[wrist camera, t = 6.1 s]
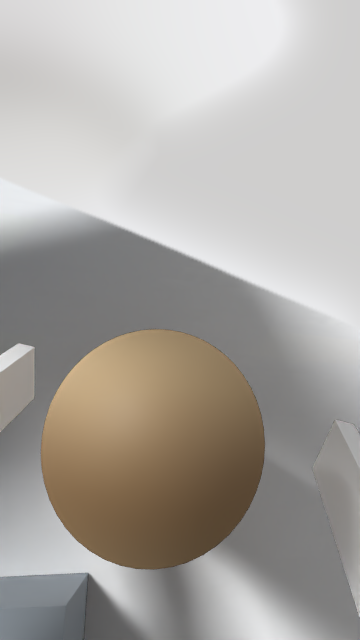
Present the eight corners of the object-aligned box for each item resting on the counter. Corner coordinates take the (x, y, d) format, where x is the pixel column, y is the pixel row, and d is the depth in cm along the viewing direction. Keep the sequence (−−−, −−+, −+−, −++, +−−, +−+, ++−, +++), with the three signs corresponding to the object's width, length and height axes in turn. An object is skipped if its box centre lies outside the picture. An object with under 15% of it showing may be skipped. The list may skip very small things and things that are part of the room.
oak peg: (124, 400, 19) (56, 331, 8) (205, 398, 19) (250, 326, 8) (121, 492, 17) (22, 575, 6) (210, 489, 17) (281, 563, 6)
